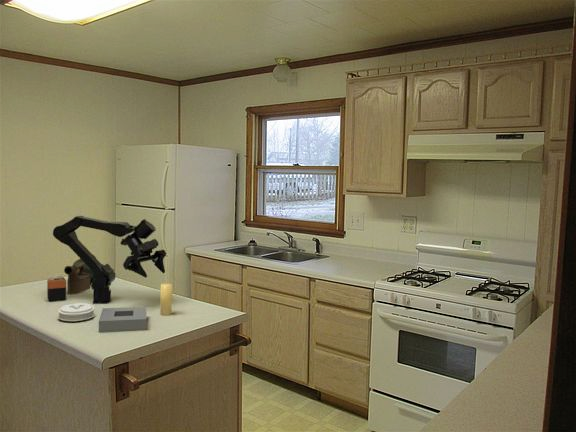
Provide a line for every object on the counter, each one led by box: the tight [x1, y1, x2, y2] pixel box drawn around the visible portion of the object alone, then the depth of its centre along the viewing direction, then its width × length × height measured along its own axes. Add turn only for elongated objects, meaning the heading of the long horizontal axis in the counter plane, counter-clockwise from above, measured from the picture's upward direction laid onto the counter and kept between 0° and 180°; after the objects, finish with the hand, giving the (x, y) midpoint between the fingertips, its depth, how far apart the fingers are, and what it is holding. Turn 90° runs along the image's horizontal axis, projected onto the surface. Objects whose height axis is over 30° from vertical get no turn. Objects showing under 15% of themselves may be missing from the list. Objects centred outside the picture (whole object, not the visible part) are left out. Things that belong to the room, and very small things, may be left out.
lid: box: [57, 302, 95, 322], centre depth 185 cm, size 13×13×5 cm
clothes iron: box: [63, 262, 91, 295], centre depth 223 cm, size 8×16×13 cm, turn 0°
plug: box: [159, 282, 173, 317], centre depth 194 cm, size 4×4×12 cm
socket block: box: [98, 306, 148, 333], centre depth 180 cm, size 16×16×4 cm
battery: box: [46, 275, 67, 303], centre depth 208 cm, size 4×7×10 cm, turn 124°
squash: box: [71, 253, 97, 284], centre depth 239 cm, size 14×15×15 cm
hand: (155, 274), depth 199 cm, fingers open, 9 cm apart
